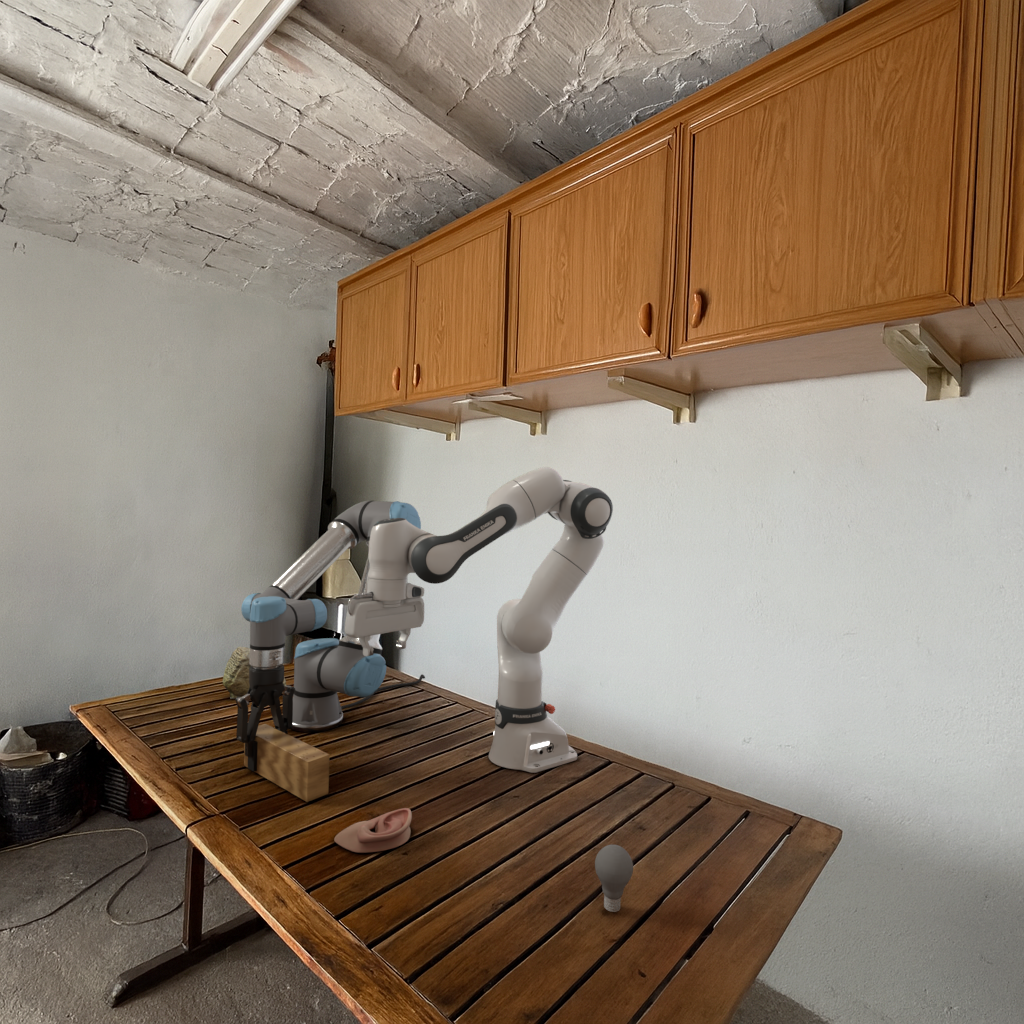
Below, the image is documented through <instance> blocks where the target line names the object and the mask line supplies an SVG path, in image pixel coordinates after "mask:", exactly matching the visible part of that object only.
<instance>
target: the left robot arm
mask: <svg viewBox="0 0 1024 1024" xmlns="http://www.w3.org/2000/svg"><path fill="white" fill-rule="evenodd" d="M392 518H404V519H406V520H407V521H408V522H409V523H411V524H412V525H414V526H416V527H417V528H419V529H421V530H422V523H421V522H422V521H421V517H420V515H419V512H418V510H417V509H416V507H415V506H414V505H412V504H411V503H408V502H401V501H398V500H396V501H387V500H386V501H385V500H370V499H369V500H364V501H363V500H362V501H360V502H357V503H356V504H354V505H352V506H350V507H348V508H347V509H346V510H344V511H343V512H341V513H340V514H338V515H337V516H336V517H335V518H334V519H333V520H332V521H331V522H329V524H328V525H327V530H326V532H325V533H323V534H322V535H321V536H320V537H319V538H318V539H317V540H316V541H315V542H313V544H312V545H311V546H310V547H309V548H308V549H307V550H306V551H305V552H304V553H302V554H301V556H299V557H298V558H297V559H296V560H294V562H293V563H292V564H290V565H289V567H288V568H287V569H285V570H284V571H283V573H282V574H280V575H279V576H278V577H277V578H276V579H275V580H273V582H272V583H271V584H270V585H269V586H268V587H267V588H266V589H264V591H262V592H253V593H250V594H248V595H247V596H246V597H244V600H243V601H242V604H241V610H240V611H241V615H242V617H243V618H244V620H245V621H247V622H249V648H250V656H249V664H250V665H251V667H250V668H249V685H250V687H249V690H248V692H247V694H246V695H244V696H243V697H237V698H235V703H236V706H237V713H236V714H237V715H236V734H235V735H236V736H235V738H236V740H237V741H239V742H241V743H242V744H244V743H245V756H247V757H248V768H247V769H248V770H250V771H251V772H253V773H256V772H255V771H257V745H258V742H256V741H254V740H255V736H256V733H257V729H258V726H259V725H260V721H261V717H262V713H264V711H265V708H267V707H268V706H269V709H270V713H271V718H272V722H273V726H274V728H275V729H277V730H279V731H282V732H284V733H286V734H288V730H291V731H294V732H295V731H296V732H301V733H316V732H325V731H329V730H332V729H335V728H337V727H339V726H340V725H342V723H343V722H344V713H343V710H345V709H349V708H353V707H356V706H358V705H360V704H364V703H365V702H366V701H368V700H369V699H371V698H372V697H373V696H374V695H375V694H376V693H378V692H381V691H384V690H389V689H395V688H400V687H401V688H402V687H409V686H415V685H419V684H420V683H421V682H422V680H424V679H426V676H425V675H424V674H423V673H422V674H420V676H419V678H418V679H417V680H415V681H410V682H402V683H396V684H390V685H385V686H381V685H382V684H383V682H384V680H385V678H386V675H387V665H386V660H385V657H383V656H382V653H383V647H382V645H381V644H380V641H379V640H380V637H381V634H378V635H372V636H370V641H368V643H369V645H370V647H373V655H371V656H364V655H363V647H362V645H361V643H360V641H359V638H353V637H349V636H347V635H346V634H345V636H342V638H340V639H338V638H335V637H329V638H328V637H326V638H313V639H308V640H304V641H302V642H299V643H298V644H297V645H296V647H295V652H294V653H295V654H294V657H293V659H294V660H293V662H294V663H293V665H294V666H293V686H292V685H289V684H286V686H284V684H283V680H284V677H285V665H284V663H285V651H286V650H285V649H286V647H285V646H286V637H287V636H291V635H297V634H302V633H307V632H312V631H314V630H317V629H320V628H322V627H323V626H324V625H325V624H326V622H327V620H328V610H327V606H326V604H325V603H324V602H323V601H322V600H320V599H318V598H307V599H302V600H301V599H300V598H301V597H302V595H304V593H306V592H307V590H309V588H311V587H312V585H314V584H315V582H316V581H317V580H318V579H319V578H320V577H321V576H322V575H323V574H324V573H326V571H327V570H328V569H329V568H330V567H331V566H332V565H333V564H334V563H335V562H336V561H337V560H338V559H339V558H340V557H341V556H342V555H343V554H344V553H345V552H346V551H348V550H352V549H354V548H355V547H356V546H357V545H358V544H359V543H361V542H365V544H366V546H367V547H368V549H369V541H370V534H371V530H372V527H373V526H374V525H375V524H376V523H377V522H379V521H381V520H385V519H392ZM368 555H369V553H368ZM368 555H367V556H368ZM369 570H370V562H369V558H368V557H367V559H366V561H365V567H364V570H363V574H362V577H361V582H360V585H359V588H358V592H357V594H363V593H367V581H368V573H369ZM338 694H343V695H347V696H348V697H353V698H355V697H357V698H361V699H359V700H357V701H355V702H352V703H348V704H344V705H341V702H340V699H339V695H338ZM281 696H282V701H281V700H280V697H281ZM250 701H251V705H250ZM281 702H282V704H281ZM249 705H250V713H249ZM281 707H282V708H281Z"/></svg>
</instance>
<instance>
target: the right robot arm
mask: <svg viewBox="0 0 1024 1024" xmlns="http://www.w3.org/2000/svg"><path fill="white" fill-rule="evenodd" d="M613 511H614V505H613V502H612V499H611V498H610V497H609V495H608V494H607V493H606V492H605V491H603V490H602V489H600V488H597V487H594V486H592V485H589V484H587V483H583V482H576V481H572V480H568V479H563V477H562V476H561V474H560V472H558V471H557V470H556V469H554V468H553V467H549V466H542V467H539V468H535V469H533V470H530V471H527V472H525V473H523V474H521V475H519V476H517V477H515V478H513V479H511V480H508V481H507V482H505V483H503V485H501V486H499V487H498V488H497V489H496V490H494V491H493V493H491V494H490V495H489V497H488V498H487V500H486V507H485V510H484V511H483V512H482V513H481V514H480V515H479V516H477V517H476V518H474V519H472V520H471V521H470V522H468V523H466V524H465V525H463V526H461V527H460V528H458V529H456V530H455V531H453V532H451V533H449V534H443V535H436V534H434V533H431V532H428V531H426V530H423V529H422V528H421V529H419V528H417V527H416V526H414V525H412V524H411V523H409V522H408V521H407V520H406V519H404V518H392V519H385V520H381V521H379V522H377V523H376V524H375V525H374V526H373V527H372V530H371V534H370V541H369V548H368V554H369V555H367V558H369V562H370V570H369V573H368V581H367V593H363V594H358V593H355V594H353V596H351V597H350V598H349V600H348V601H347V610H346V615H345V623H344V634H345V636H346V635H347V636H349V637H353V638H359V641H360V643H361V645H362V647H363V655H364V656H371V655H373V647H370V645H369V643H368V641H370V636H372V635H378V634H380V635H382V634H383V635H384V634H388V633H395V632H398V631H399V633H400V636H399V638H398V640H396V642H395V644H396V645H395V649H396V650H404V649H405V650H406V647H407V641H408V639H409V637H410V635H411V633H412V631H411V630H412V629H416V628H421V627H422V625H423V624H424V623H425V601H424V598H422V597H424V595H425V588H424V587H422V586H419V585H416V584H413V583H410V582H408V580H409V577H408V576H409V575H410V574H415V575H416V576H417V577H418V578H419V579H420V580H422V581H423V582H426V583H428V584H433V585H434V584H435V585H436V584H437V585H438V584H442V583H445V582H447V581H449V580H450V579H451V578H453V577H454V576H455V574H457V572H458V571H459V569H460V568H461V566H462V565H463V564H464V562H465V561H467V560H468V559H469V558H470V557H472V556H473V555H474V554H476V553H478V552H479V551H481V550H482V549H484V548H486V547H487V546H488V545H490V544H492V543H493V542H494V541H496V540H498V539H500V538H501V537H503V536H505V535H507V534H509V533H511V532H514V531H516V530H518V529H520V528H522V527H524V526H527V525H529V524H531V523H532V522H534V521H536V520H537V519H539V518H540V517H542V516H543V515H546V514H548V516H550V517H551V518H552V519H554V520H556V521H559V522H560V523H562V524H563V525H564V526H563V530H562V534H561V536H560V538H559V539H558V541H557V542H556V543H555V544H554V546H553V547H552V548H551V549H550V551H549V552H548V553H547V555H546V556H545V557H544V558H543V560H542V561H541V562H540V564H539V566H538V567H537V568H536V570H535V571H534V572H533V573H532V576H531V580H530V581H529V584H528V586H527V587H526V590H525V592H524V593H523V595H522V597H521V598H511V599H509V600H507V601H505V602H504V603H502V604H501V605H500V607H499V608H498V610H497V614H496V640H497V641H496V645H497V646H496V647H497V662H498V665H497V666H498V675H497V676H498V677H497V698H496V700H495V705H494V725H495V726H494V731H493V732H492V733H493V738H492V741H491V742H492V743H491V746H490V749H489V751H488V755H487V756H488V757H487V758H488V760H489V761H490V762H491V763H493V764H494V765H497V766H499V767H502V768H504V769H505V768H506V769H511V770H518V771H524V772H527V773H532V774H533V773H534V774H535V773H539V772H542V771H543V772H544V771H545V770H549V769H552V768H556V767H559V766H563V765H565V764H568V763H573V762H575V761H577V760H578V753H577V750H575V749H574V748H573V747H572V746H570V745H569V739H568V735H567V732H566V730H565V729H563V727H562V726H560V725H559V724H558V723H557V722H556V721H555V720H553V719H552V718H551V717H550V716H548V714H550V715H552V714H554V713H555V712H556V707H555V705H552V704H551V703H546V702H545V701H544V700H542V699H543V698H542V697H543V676H544V674H543V673H544V670H543V665H542V658H541V652H543V651H544V650H546V648H547V647H548V646H549V645H550V643H551V641H552V638H553V632H554V631H555V628H556V626H557V625H558V623H559V620H560V619H561V616H562V615H563V612H564V610H565V608H566V607H567V605H568V603H569V601H570V600H571V598H572V597H573V596H574V595H575V593H576V591H577V590H578V589H579V587H580V586H581V584H582V583H583V581H584V580H585V579H586V577H587V576H588V575H589V573H590V572H591V570H592V569H593V568H594V566H595V564H596V563H597V561H598V559H599V557H600V555H601V553H602V551H603V549H604V546H605V539H604V536H603V534H604V533H605V532H606V531H607V526H608V525H609V523H610V522H611V519H612V515H613Z"/></svg>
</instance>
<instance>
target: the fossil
mask: <svg viewBox="0 0 1024 1024" xmlns="http://www.w3.org/2000/svg"><path fill="white" fill-rule="evenodd" d="M249 656H250V647H247V646H246V647H245V646H238V647H237V648H236V649H235V650H233V651H232V653H231V656H230V657H229V659H228V660H227V663H226V666H225V668H224V671H223V675H222V676H223V677H222V685H223V687H224V688H225V690H226V691H228V693H229V698H230V699H236V698H237V697H243V696H244V695H246V694H247V692H248V690H249V687H250V685H249V668H250V667H251V665H250V664H249ZM283 684H284V686H286V685H287V680H286V678H285V676H284V680H283Z"/></svg>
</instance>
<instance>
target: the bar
mask: <svg viewBox="0 0 1024 1024" xmlns="http://www.w3.org/2000/svg"><path fill="white" fill-rule="evenodd" d="M254 741H256V742H258V745H257V771H255V772H254V773H256V774H258V775H259V776H261V777H263V778H264V779H267V780H268V781H269V782H271V783H273V784H275V785H276V786H278V787H280V788H282V789H283V790H285V791H287V792H288V793H290V794H292V795H294V796H295V797H297V798H299V799H301V800H303V801H305V802H306V803H309V802H311V801H313V800H316V799H319V798H321V797H323V796H326V795H328V794H329V789H330V788H329V786H330V785H329V784H330V754H329V753H328V752H325V751H323V750H321V749H319V748H317V747H315V746H313V745H311V744H309V743H307V742H304V741H303V740H300V739H298V738H296V737H294V736H292V735H290V734H288V733H287V734H286V733H284V732H282V731H279V730H277V729H275V727H273V726H271V725H269V724H267V723H263V724H259V725H258V729H257V733H256V736H255V740H254ZM243 745H244V746H243V766H244V767H246V768H247V769H248V757H247V756H245V743H243Z"/></svg>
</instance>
